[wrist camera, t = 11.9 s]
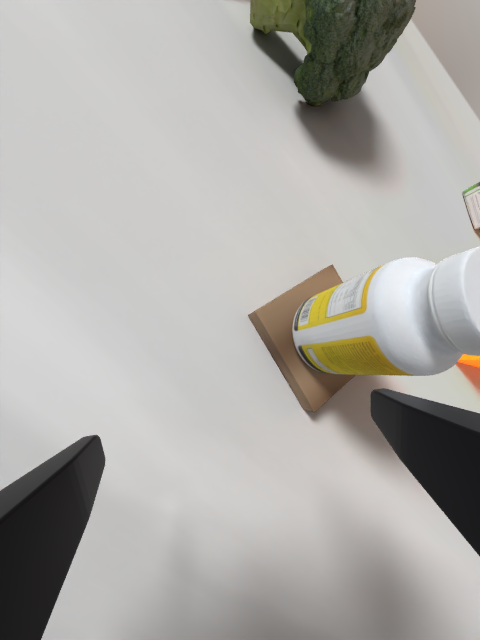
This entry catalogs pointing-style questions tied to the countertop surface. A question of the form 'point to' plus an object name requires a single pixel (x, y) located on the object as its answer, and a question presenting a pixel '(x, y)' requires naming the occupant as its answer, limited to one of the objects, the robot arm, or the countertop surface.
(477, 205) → the syrup box
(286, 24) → the vegetable
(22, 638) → the robot arm
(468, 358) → the orange juice
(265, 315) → the base tile
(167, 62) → the countertop surface
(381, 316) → the pill bottle
